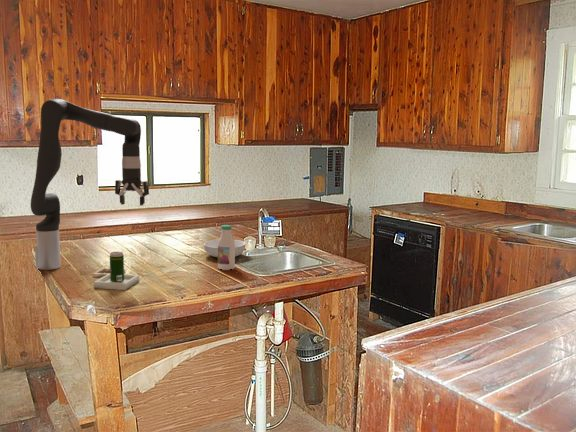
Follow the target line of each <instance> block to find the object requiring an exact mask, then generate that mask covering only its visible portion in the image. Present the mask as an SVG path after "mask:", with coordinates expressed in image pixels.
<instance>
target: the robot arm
mask: <svg viewBox="0 0 576 432" xmlns="http://www.w3.org/2000/svg"><path fill="white" fill-rule="evenodd" d="M64 120H65V121H66V120H67V121H74V122H75V121H76V122H80V123H84V124H85V125H88V126H89V127H92V128H94V129H99V130H103V131H107V132H113V133H115V134H119V135H122V136H124V142H123V143H122V154H121V155H122V158H121V159H122V161H121V166H122V167H121V171H122V172H121V173H122V175H121V176H122V177H121V178H122V179H121V180H120V179H117V180H115V181H114V182H115V185H114V186H115V187H114V188H115V189H114V190H115V191H114V194H115V195H118V196H119V203H120V205H122V206H123V205H125V204H126V201H125V199H126V197H125V194H126V192H130V191H132V192H136V193H137V194H138V195H139V206H144V204H145V200H146V199H145V198H146V196H148V195H150V187H149V181H148V180H145V181H144V180H142V177H141V171H142V169H141V167H142V164H141V157H140V156H141V155H140V153H141V152H140V149H141V148H140V143H141V135H142V128H141V123H140V122H139V121H137V119H133V118H130V119H129V118H125V117H120V116H116V115H113V114H110V113H106V112H102V111H96V110H94V109H89V108H85V107H82V106H79V105H76V104H74V103H73V102H70V101H67V100H65V99H62V98H51V99H48V100H46V101H44V102H43V103H42V105H41V108H40V136H39V143H38V150H37V157H36V158H37V159H36V171H35V178H34V184H33V188H32V192H31V197H30V210H31V213H32V214H33V215H34V216H39V217H40V216H45V217H44V218H43V219H42V220H41V221H39V222H37V223H36V225H35V229H36V230H35V231H36V246H35V247H34V252H35V269H39V270H43V271H44V270H45V271H46V270H47V271H48V270H49V271H51V270H57V269H60V268H61V266H62V265H61V248H60V246H61V245H60V244H61V243H60V224H61V203H60V202H61V201H60V198H59V197H58V195H57V194H56V193H47V190H48V187H49V184H50V183H51V182H52V180H53V179H54V177H55V176H56V175H57V173H58V172H59V170H60V168H61V163H62V162H61V161H62V153H63V152H62V146H61V143H60V138H59V133H60V127H61V122H62V121H64ZM121 186H123V187H122V189H121ZM141 186H142V187H141ZM142 188H143V189H142Z"/></svg>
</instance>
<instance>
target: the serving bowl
mask: <svg viewBox="0 0 576 432" xmlns="http://www.w3.org/2000/svg"><path fill="white" fill-rule="evenodd" d="M219 239H220V238H218V239H217V238H216V239H210V240H207V241H205V242H204V243H203V247H204V251H205V252H206V253H207V254H208V255H209V256H211V257H213V258H217V257H218V241H219ZM233 239H234V238H233ZM234 243H235V258H236V257H238V256H240V255H242V254H243V253H244V251H245V248H246V245H247V243H246V242H245V241H243V240H239V239H234Z"/></svg>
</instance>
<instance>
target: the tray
mask: <svg viewBox="0 0 576 432" xmlns="http://www.w3.org/2000/svg"><path fill="white" fill-rule="evenodd" d="M107 274H108V275H106V276H104V277H102V278H100V277H99V279H96V280H95V281H93V288H95V289H104V290H105V289H106V290H119V291H126V290H128V289H130V288H131V287H132V286H134V285H135V284H137V283H139V282H140V275H139V274H126V273H124V282H122V283H116V282H111V281H110V272H108V273H107Z"/></svg>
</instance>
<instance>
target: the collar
mask: <svg viewBox="0 0 576 432" xmlns="http://www.w3.org/2000/svg"><path fill="white" fill-rule="evenodd" d="M109 273H110V267H103V268H100V269H99V270H97V271H95V272H93V273H92V278H99V279H100V278H102V277H104V276H106V275H108V274H109ZM124 274H126V269H125V268H124Z"/></svg>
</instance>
